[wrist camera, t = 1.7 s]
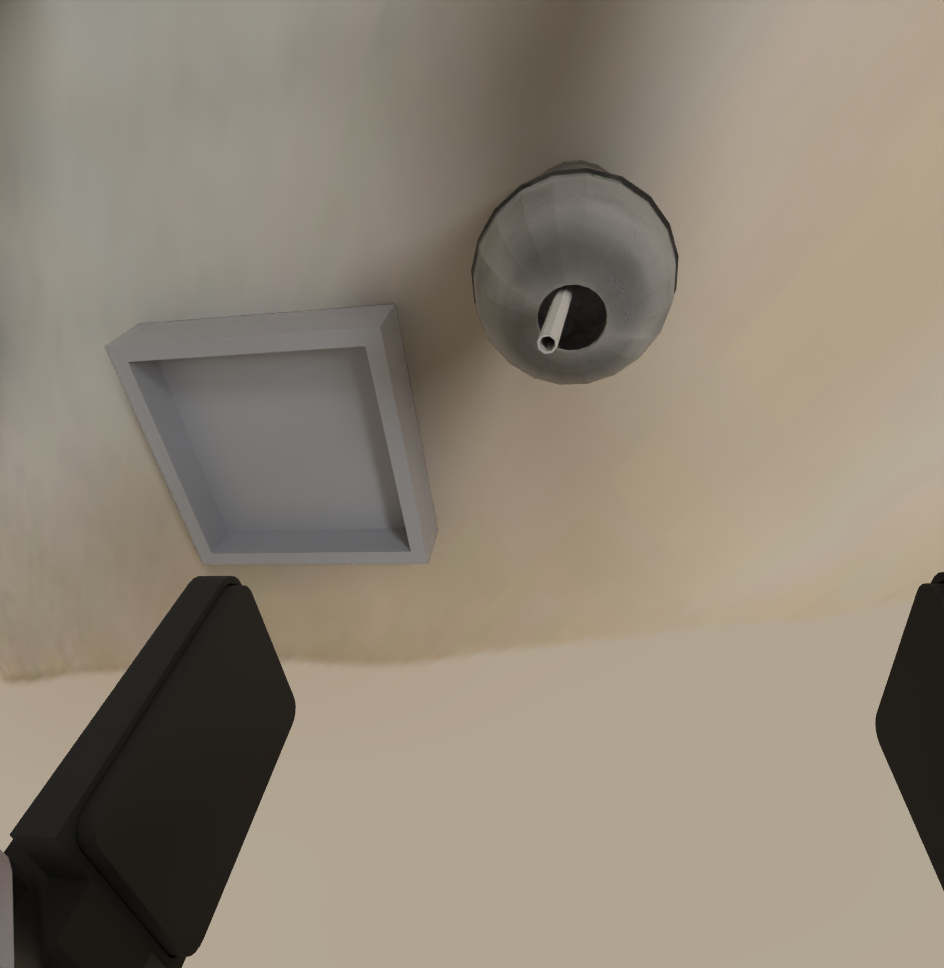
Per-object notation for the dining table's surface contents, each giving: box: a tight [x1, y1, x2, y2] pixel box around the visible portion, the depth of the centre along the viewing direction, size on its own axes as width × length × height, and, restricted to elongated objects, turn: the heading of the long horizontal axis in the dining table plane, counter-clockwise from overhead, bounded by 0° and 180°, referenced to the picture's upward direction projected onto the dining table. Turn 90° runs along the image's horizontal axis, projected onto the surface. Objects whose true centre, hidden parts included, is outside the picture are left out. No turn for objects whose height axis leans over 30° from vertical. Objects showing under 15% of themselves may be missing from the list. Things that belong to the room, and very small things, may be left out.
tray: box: [105, 304, 438, 565], centre depth 41 cm, size 16×16×4 cm
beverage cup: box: [471, 160, 678, 385], centre depth 25 cm, size 7×7×20 cm
